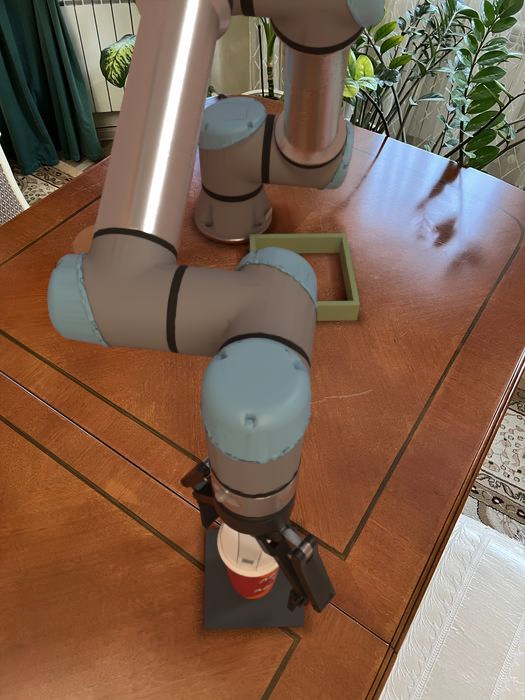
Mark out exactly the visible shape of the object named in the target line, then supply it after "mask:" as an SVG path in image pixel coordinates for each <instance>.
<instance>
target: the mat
mask: <svg viewBox="0 0 525 700" xmlns="http://www.w3.org/2000/svg"><path fill="white" fill-rule="evenodd" d="M219 529H220V528H217V529H214V528H213V529H205V541H204V542H205V543H204V546H205V547H204V582H203V584H204V585H203V589H204V590H203V622H202V624H203V626H202V627H203V628H202V629H203V631H210V630H211V631H212V630H215V631H216V630H240V629H241V630H243V629H264V628H266V629H268V628H270V629H271V628H295V627H296V628H297V627H299V628H300V627H305V614H304V605H303V606H302V607H301V608H300V607H298V606H297V607H296V608H295V609H294V611H293V612H291V611H290V610H289V609H288V608H287V604H288V600H289V595H290V591H291V590H292V588H293V587H292V586H291V584H290V582H289V581H288V579H287V578H286V576H285V575H284V573H283V572H282V570H281V569H280V567H279V570H278V573H277V576H276V579H275V582H274V584H273V586H272V588H271V589H270V591H269V592H268V593H267V594H265V595H264V596H262V597H260V598H256V599H249V598H245V597H243V596H241V595H240V594H238V593H237V592H236V591H235V589H234V588H233V586H232V584H231V581H230V578H229V575H228V571H227V568H226V564H225V563H224V561H223V560H222V558H221V556H220V554H219V550H218V545H217V538H218V532H219ZM293 529H294V530H295V533H296V534H297V535H299V534H298V526H293Z"/></svg>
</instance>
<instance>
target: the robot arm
mask: <svg viewBox="0 0 525 700" xmlns="http://www.w3.org/2000/svg"><path fill="white" fill-rule="evenodd" d="M135 5H136V8H137V11H138V13H139V15H140V18H139V23H138V26H137V32H136V35H135V41H134V45H133V51H132V54H131V59H130V63H129V68H128V72H127V76H126V81H125V86H124V91H123V96H122V101H121V105H120V110H119V114H118V117H117V118H118V119H117V122H116V123H117V124H116V128H115V132H114V137H113V141H112V144H111V145H112V146H111V150H110V156H109V159H108V164H107V169H106V174H105V178H104V182H103V187H102V191H101V197H100V201H99V205H98V210H97V214H96V219H95V223H94V224H95V227H94V232H93V237H92V243H91V246H90V249H89V252H88V254H86V253H83V252H82V253H79V254H74V253H68V254H65V255H63V256H62V257H60V258H59V260H58V261H57V263H56V268H53V270H52V271H51V274H50V276H49V281H48V286H47V295H46V297H47V299H46V301H47V311H48V317H49V319H50V323H51V324H52V326H53V328H54V330H55V331H56V332H57V333H58V334H59V335H60V336H61V337H62V338H65V339H68V340H71V341H77V342H84V343H88V344H93V345H99V346H103V347H104V348H113V347H114V348H125V349H134V350H135V349H136V350H147V351H156V352H164V353H165V352H167V353H172V354H180V355H186V356H195V357H203V358H211V359H210V361H209V362H208V364H207V366H206V367H205V370H204V372H203V376H202V378H201V379H202V380H201V395H200V403H199V413H200V415H201V417H202V420H201V423H202V426H203V428H204V434H205V435H204V436H205V441H206V449H207V455H205V457H204V458H203V459H201V460H200V461H199V462H198V463H197V464H196V465H195V466H194V467H193V468H192V469H190V471H189V472H187V473H186V474H185V475H184V476H183V477H182V478H181V479H180V480H179V481H180V484H181V485H182V487H184V488H186V489H189V488H191V489H192V490H193V491H192V492H191V495H192V497H193V499H194V500H196V503H197V505H198V509H199V515H200V521H201V525H202V526H203V528H204V529H205V530H208V528H209V527H211V525H212V524H213V523H214V522H215V521H217V519H218V518H219V519H220V520H221V521H222V523H223V522H224V523H225V524H226V525H227V526H228V527H230V528H231V529H233V530H235V531H237V532H239V533H242V534H246V535H250V536H251V537H253V538H255V539H256V541H257V542H258V544H259V545H260V547H261V549H262V550H263V552H264V553H266V554H268V555H269V556H271V557H273V558H274V559H275V561H276V562H277V564H278V565H279V567H280V569H281V570H282V572H283V573H284V575H285V576H286V578H287V579H288V581H289V582H290V584H291V586H292V587H293V588H292V590H291V591H290V595H289V600H288V604H287V608H288V609H289V610H290V611H291V612H293V611H294V609H295V608H296V607H297V606H298V607H300V608H301V607H302V606H303V607H308V605H309V604H310V605H311V607H312V609H313V610H314V611H315V612H317V613H318V614H321V613H323V611H324V610H325V609H326V608H327V607H328V605H329V604H330V603H331V601H332V600H333V599H334V597H335V596H336V595H337V592H336V589H335V588H334V585H333V583H332V581H331V578H330V575H329V574H328V571H327V568H326V567H325V564H324V561H323V559H322V557H321V554H320V553H319V542H318V540H317V538H316V537H315V536H314V535H313V534H310V533H308V534H306V536H305V535H303V536H302V537H301V536H299V534H298V533H297V534H298V535H297V534H296V533H295V530H294V529H293V527H294V525H293V523H292V521H291V516H292V513H293V510H294V506H295V502H296V496H297V489H298V484H299V478H300V472H301V471H300V470H301V466H302V465H301V464H302V452H303V447H304V441H305V437H306V431H307V428H308V426H309V424H310V419H311V414H312V411H311V406H312V405H311V404H312V399H313V394H312V393H313V392H312V388H311V387H312V385H311V382H312V362H313V352H314V343H315V342H314V341H315V334H316V333H315V332H316V325H317V322H318V321H317V310H318V306H317V301H318V280H317V275H316V273H315V271H314V268H313V267H312V265H311V264H310V263H309V262H308V261H307V260H306V258H304V257H303V256H301V255H300V254H299V253H295V252H293V251H290V250H288V249H284V248H279V247H265V248H264V249H262V250H258V251H252V252H250V251H249V253H247V254H245V255H244V256H243V257H242V259H241V260H240V261H239V262H238V264H237V266H236V267H235V269H234V270H232V269H224V268H223V269H221V268H214V267H213V268H212V267H204V266H193V265H187V264H177V263H178V256H179V253H180V248H181V242H182V238H183V237H182V236H183V233H184V232H183V231H184V226H185V220H186V214H187V208H188V204H189V197H190V192H191V186H192V181H193V176H194V171H195V165H196V158H197V154H198V159H199V170H200V171H199V172H200V182H201V188H200V191H199V194H198V197H197V201H196V204H195V208H194V224H195V227H196V230H198V232H199V233H200V234H201V235H202V236H203V237H204V238H206V239H208V240H210V241H212V242H215V243H218V244H222V245H228V246H229V245H230V246H233V245H235V246H236V245H245V244H250V234H267V233H268V231H269V229H270V228H271V226H272V222H273V221H272V219H273V206H272V205H271V203H270V201H269V198H268V195H267V192H266V190H265V186H264V184H266V185H275V186H276V185H277V186H288V187H297V188H307V189H316V190H318V191H323V190H324V191H325V190H338V189H339V188H341V187H342V185H343V184H344V183H345V180H346V178H347V175H348V172H349V166H350V163H351V160H352V155H353V150H354V143H355V127H354V125H353V122H351V121H350V120H347V119H345V117H344V115H343V113H342V104H343V99H344V94H345V93H344V92H345V86H346V81H347V74H348V69H349V68H348V66H349V60H350V55H351V49H352V45H354V43H356V42H357V40H359V39H360V37H362V35H363V33H364V31H365V30H366V29H367V28H369V27H371V26H377V25H379V24H380V23H381V22H382V21H383V18H384V14H385V5H386V0H135ZM234 16H235V17H236V16H243V17H251V18H264V19H269V24H270V27H271V29H272V31H273V34H275V36H276V38H277V39H278V40H279V41H280V42H281V43H282V84H283V85H282V88H283V89H282V91H283V110H282V111H281V113H280V114H277V113H276V114H274V113H267V110H266V108H265V106H264V104H263V103H262V102H261V101H259V100H256V99H255V98H253V97H249V96H233V97H232V96H231V97H228V96H227V95H225V94H224V93H219V94H217V98H218V99H220V100H217V101H216V102H214V103H212V104H210V105H208V106H207V107H206V103H207V97H208V91H209V85H210V79H211V74H212V69H213V64H214V58H215V51H216V46H217V41H219V40H220V39H221V38H222V37H224V35H226V33H227V31H228V30H229V28H230V25H231V20H232V17H234ZM267 540H270V542H269V543H268V541H267Z"/></svg>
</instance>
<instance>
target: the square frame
mask: <svg viewBox="0 0 525 700" xmlns="http://www.w3.org/2000/svg"><path fill="white" fill-rule="evenodd" d="M349 244H350V243H349V240H348V234H347V233H346V232H344V233H343V232H338V233H337V232H335V233H334V232H333V233H332V232H331V233H328V232H327V233H265V234H250V242H249V253H250V252H252V251H258V250H262V249H264V248H265V247H279V248H284V249H288V250H290V251H293V252H295V253H297V254H339V259H340V264H341V271H342V277H343V283H344V289H345V293H346V294H345V295H346V300H317V306H318V310H317V321H316V322H340V321H341V322H345V321H346V322H347V321H348V322H349V321H350V322H351V321H358V316H359V312H360V308H361V303H360V297H359V291H358V286H357V281H356V276H355V271H354V266H353V265H354V264H353V261H352V260H353V259H352V255H351V249H350V245H349Z"/></svg>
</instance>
